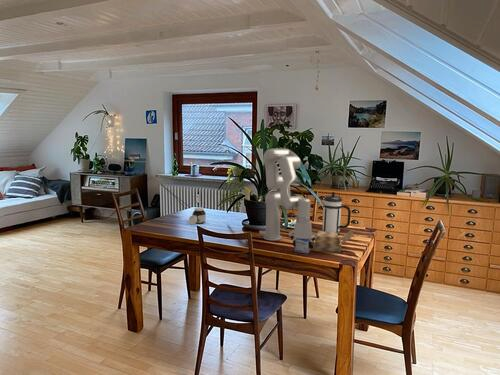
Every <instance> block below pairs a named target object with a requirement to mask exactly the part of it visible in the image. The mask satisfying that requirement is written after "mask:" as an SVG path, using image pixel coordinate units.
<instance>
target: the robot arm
mask: <svg viewBox="0 0 500 375" xmlns="http://www.w3.org/2000/svg"><path fill="white" fill-rule="evenodd" d="M276 162H278V165H279V167H278V165H277V163H276ZM263 163H264V167H265V178H266V187H267V189H269V190H273V191H270V192H267V193H266V194H265V197H264V200H265V201H264V202H265V211H266V212H265V230H259V232H258V233H259V234H260V235H263V236H262V238H263V239H264V240H266V241H273V242H274V241H280V240H282V238H283V236H282V235H281V234H280V232H281V210H280V208H279V207H280V206H282V207H283V209H286V210H295V209H296V210H297V213H296V214H297V216H294V220H295V223H294V228H293V230H291V231H289V232H288V236H289V238H290V240H292V246H293V248H295V241H296V238H299V239H309V240H310V244H309V250H310V249H311V248H313V243H314V242H313V241H314V240H315V239H316V237H317V234H316V232H314V231H312V221H311V199H309V198H307V197H306V198H305V197H304V196H302V195H293V196H291V185H292V184H293V183H295V182H296V181H297V179H298V177H297V174H296V170H297V169H298V170H299V169H300V167H301V166H302V161H301V158H300V157H299V156H298V154H296V153H295V152H294V151H292V150H291V149H289V148H268V149H267V150H265V151H264V154H263ZM279 169H280V170H279ZM274 190H275V191H274ZM276 190H277V191H276ZM292 234H293V235H292ZM311 235H314V237H313V238H311Z"/></svg>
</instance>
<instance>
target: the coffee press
mask: <svg viewBox="0 0 500 375" xmlns="http://www.w3.org/2000/svg"><path fill="white" fill-rule="evenodd" d="M321 203H323V213H322V214H323V216H322V231H324V232H337V233H338V237H339V236H340V234H339V233H340V230H341V228H342V229H344V228H345V229H347V228H348V227H349V226H350V224H351V208H350V207H349V206H348V205H345V204H344V205H342V203H343V199H342V197H341V196H340V195H338V194H337V195H336V192H335V191H332V192H331V194H328V195H326V196H324V198H323V199H322V201H321ZM342 208H344V209H346V210H347V222H346V224H344V225H343V224H341V217H342Z"/></svg>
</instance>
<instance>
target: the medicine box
mask: <svg viewBox="0 0 500 375" xmlns="http://www.w3.org/2000/svg"><path fill="white" fill-rule="evenodd" d="M295 240H296V241H295V247H294V252H295V253H300V254H306V255H307V254H309V253H310V248H309V244H310V240H309V239H299V238H296V239H295Z"/></svg>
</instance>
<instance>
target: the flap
mask: <svg viewBox="0 0 500 375" xmlns="http://www.w3.org/2000/svg"><path fill="white" fill-rule="evenodd" d="M353 236H354V232H353V229H352V228H351V229H350V230H349V231H348V232H346V233H345V234H343V235H342V237H341V243H342V244H345V243H346V242H347V241H348V240H350V239H351V238H352V237H353Z"/></svg>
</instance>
